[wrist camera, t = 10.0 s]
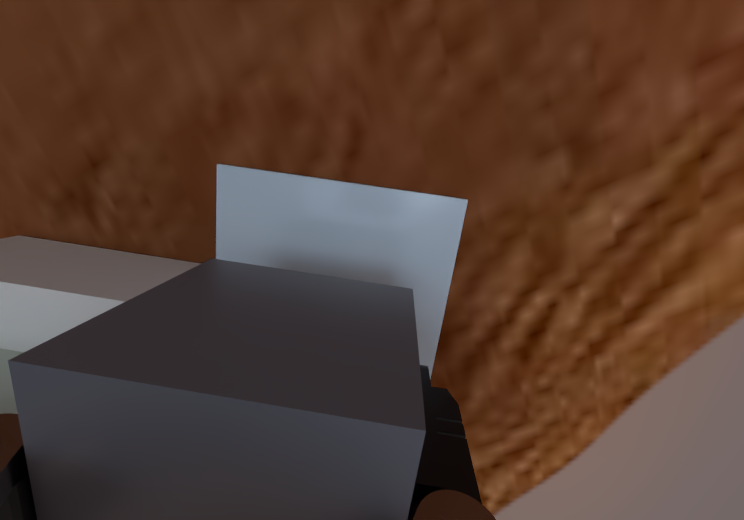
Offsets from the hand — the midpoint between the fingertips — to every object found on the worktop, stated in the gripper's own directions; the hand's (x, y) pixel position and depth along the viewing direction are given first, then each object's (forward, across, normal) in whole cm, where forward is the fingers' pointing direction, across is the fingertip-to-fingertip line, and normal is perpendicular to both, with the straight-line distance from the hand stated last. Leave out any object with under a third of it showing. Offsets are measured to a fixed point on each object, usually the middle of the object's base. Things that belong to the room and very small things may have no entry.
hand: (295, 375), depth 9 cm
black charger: (+3, 0, 0) cm, 3 cm away
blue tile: (+5, 0, 0) cm, 5 cm away
